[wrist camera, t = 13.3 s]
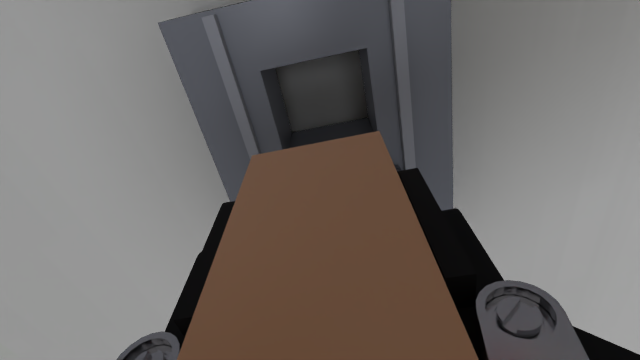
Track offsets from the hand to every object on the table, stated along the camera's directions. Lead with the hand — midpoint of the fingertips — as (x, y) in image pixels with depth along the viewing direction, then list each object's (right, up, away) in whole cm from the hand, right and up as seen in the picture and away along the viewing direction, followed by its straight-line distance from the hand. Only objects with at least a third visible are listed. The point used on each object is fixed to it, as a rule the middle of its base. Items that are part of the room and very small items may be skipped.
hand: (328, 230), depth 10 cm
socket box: (+1, +5, +15) cm, 16 cm away
